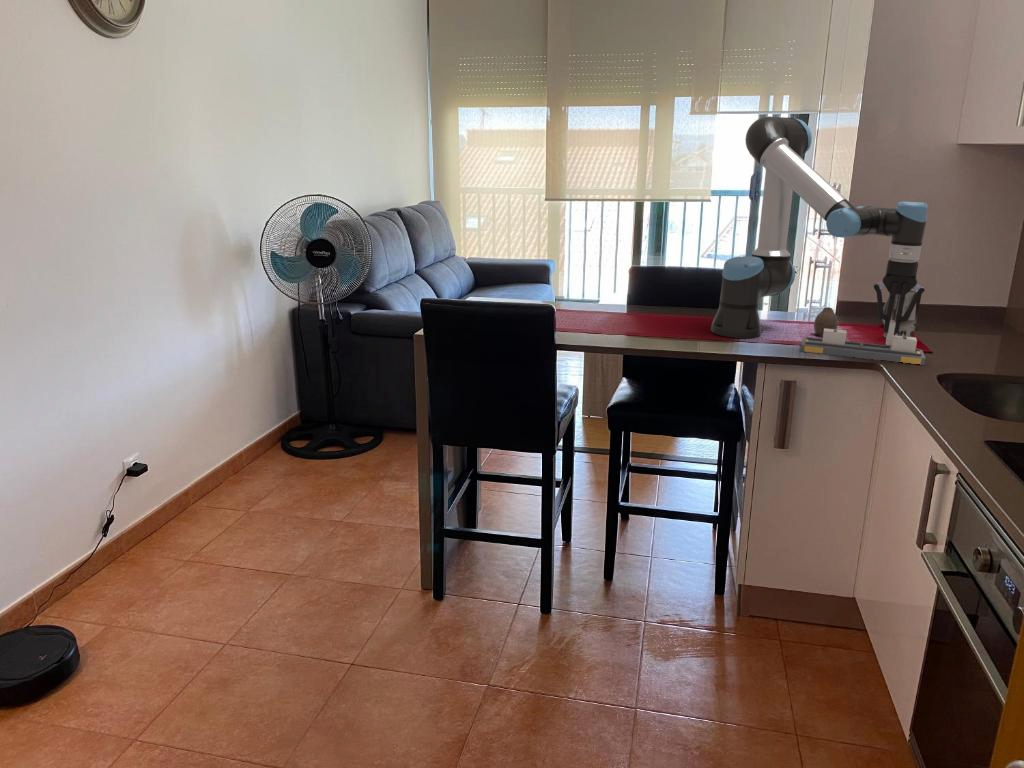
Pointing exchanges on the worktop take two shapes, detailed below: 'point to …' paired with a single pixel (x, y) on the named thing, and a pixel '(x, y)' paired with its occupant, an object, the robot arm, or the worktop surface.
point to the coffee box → (905, 326)
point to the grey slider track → (861, 351)
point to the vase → (825, 321)
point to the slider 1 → (834, 336)
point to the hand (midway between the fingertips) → (888, 343)
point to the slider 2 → (903, 344)
